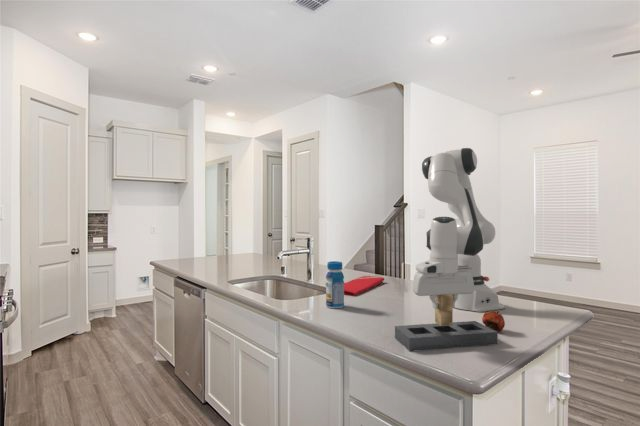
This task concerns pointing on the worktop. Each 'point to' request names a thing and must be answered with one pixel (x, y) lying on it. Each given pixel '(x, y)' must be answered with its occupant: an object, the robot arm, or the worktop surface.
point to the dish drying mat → (361, 285)
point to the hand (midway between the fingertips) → (443, 308)
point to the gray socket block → (445, 335)
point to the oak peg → (444, 310)
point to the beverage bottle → (334, 285)
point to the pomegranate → (493, 320)
